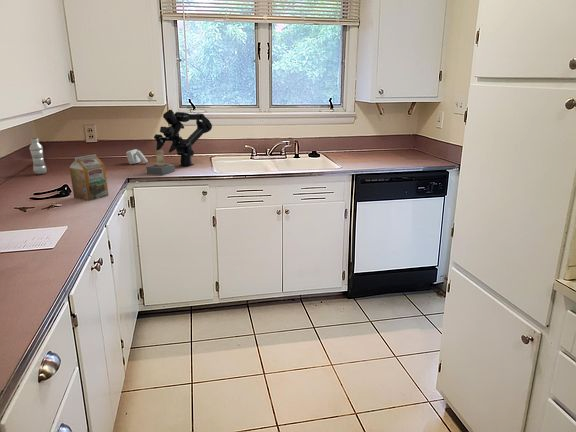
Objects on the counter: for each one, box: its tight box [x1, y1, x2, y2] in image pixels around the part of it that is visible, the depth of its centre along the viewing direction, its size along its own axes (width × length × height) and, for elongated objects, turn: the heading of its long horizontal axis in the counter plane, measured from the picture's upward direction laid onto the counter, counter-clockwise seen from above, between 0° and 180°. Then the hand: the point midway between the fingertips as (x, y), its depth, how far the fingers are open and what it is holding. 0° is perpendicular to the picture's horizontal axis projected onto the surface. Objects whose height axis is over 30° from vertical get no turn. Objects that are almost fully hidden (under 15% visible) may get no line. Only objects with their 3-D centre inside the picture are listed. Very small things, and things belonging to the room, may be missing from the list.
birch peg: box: [154, 149, 165, 167], centre depth 255 cm, size 4×4×12 cm
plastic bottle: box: [29, 137, 48, 175], centre depth 249 cm, size 6×7×20 cm
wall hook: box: [125, 148, 149, 165], centre depth 280 cm, size 8×10×10 cm
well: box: [146, 163, 176, 176], centre depth 256 cm, size 11×11×4 cm
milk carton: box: [69, 153, 109, 202], centre depth 204 cm, size 11×11×19 cm
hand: (163, 151), depth 256 cm, fingers open, 9 cm apart
